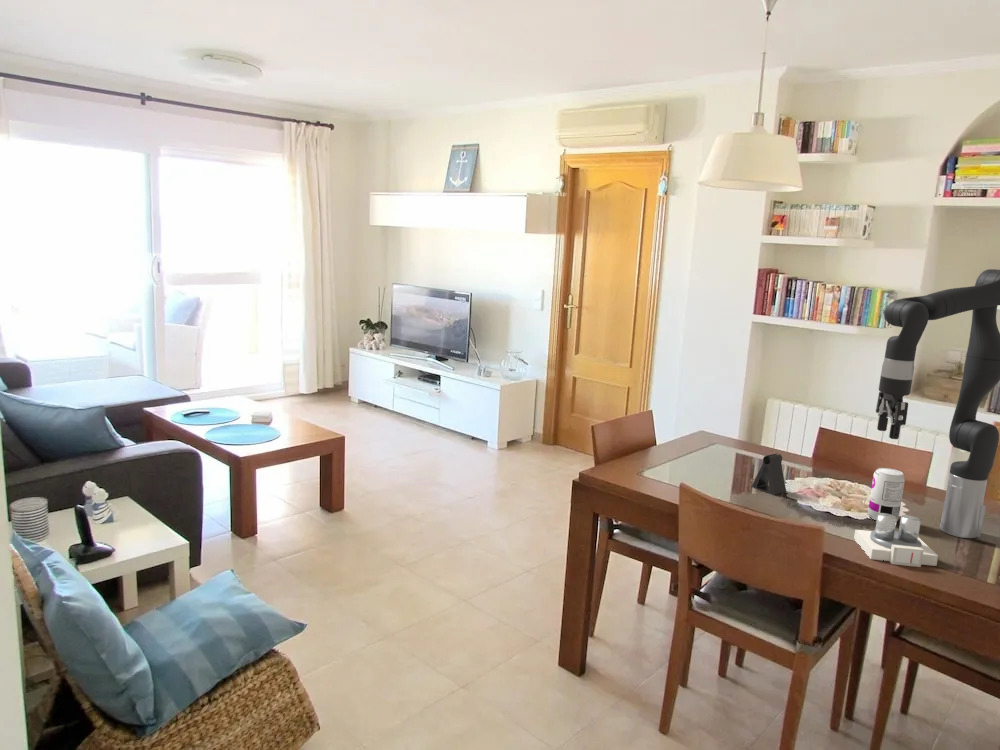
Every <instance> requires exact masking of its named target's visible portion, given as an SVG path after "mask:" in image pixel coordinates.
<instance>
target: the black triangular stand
mask: <svg viewBox="0 0 1000 750" xmlns="http://www.w3.org/2000/svg"><path fill="white" fill-rule="evenodd" d="M782 460H783V456H782V454H779V453H773V454H767V455H764V456H763V458H762V464H761V466H760V468H759V470H758V473H757V475H756V476H755V478H754V480H753V482H752V485H751V488H753V489H755V490H758V491H761V492H764V493H767V494H769V495H772V496H777V495H781V494H784V493H785V494H786V493H787V488H786V482H785V477H784V470H783V466H782Z"/></svg>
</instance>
